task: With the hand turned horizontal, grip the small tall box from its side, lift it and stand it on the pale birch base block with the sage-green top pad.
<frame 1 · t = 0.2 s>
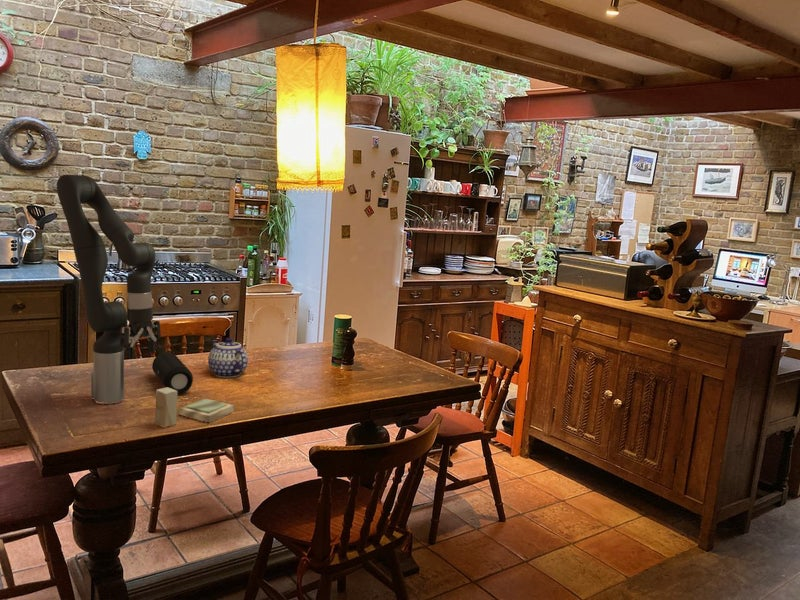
hand: (141, 355, 207), 18 cm above the table, tool pointing down, fingers open, 8 cm apart
teapot: (227, 374, 253), on the table
birch base: (206, 413, 209), on the table
portable speaker: (171, 386, 234), on the table
box: (166, 425, 198), on the table
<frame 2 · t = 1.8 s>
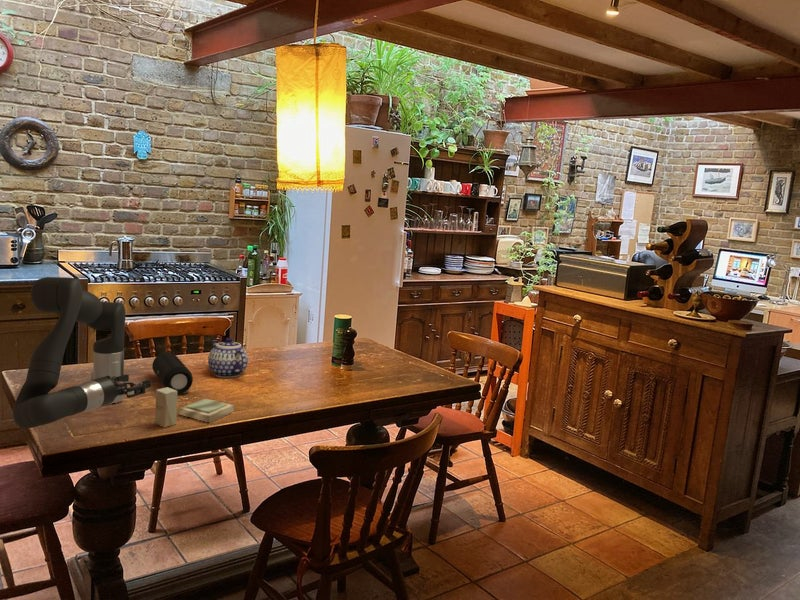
hand: (138, 380, 185), 17 cm above the table, tool horizontal, fingers open, 8 cm apart
nothing on the table moved.
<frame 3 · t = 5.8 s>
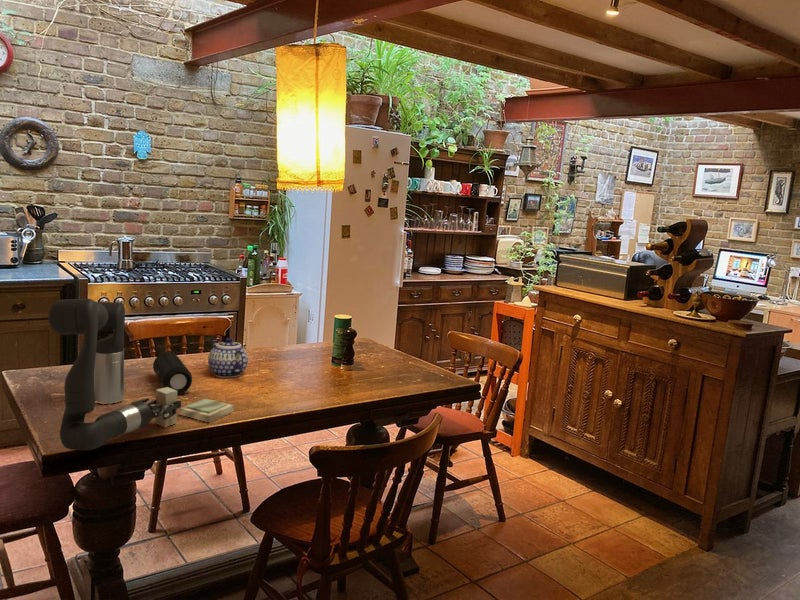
hand: (172, 401, 199), 7 cm above the table, tool horizontal, fingers closed on box, 5 cm apart
box: (166, 425, 198), on the table, touching gripper
everything else where it was.
when the fingers open (10 cm above the table, at t = 10.3 s): box stays where it is, resting on birch base.
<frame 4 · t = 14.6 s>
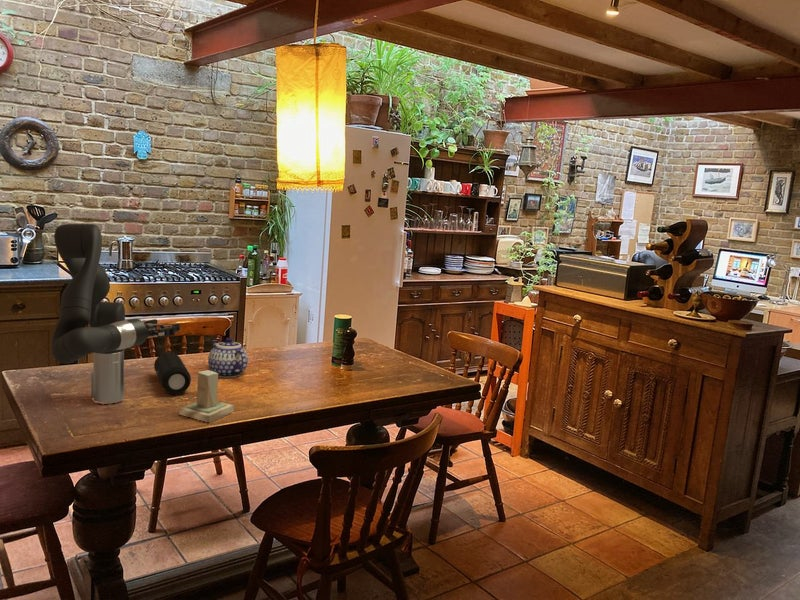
hand: (167, 324, 190), 32 cm above the table, tool horizontal, fingers open, 8 cm apart
box: (207, 405, 208), point 3 cm above the table, touching birch base
everything else where it was.
at the end: box inside the target area on the birch base (0.1 cm from its centre), point 2.8 cm above the birch base's base; box tilted 0°; the gripper is holding nothing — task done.
